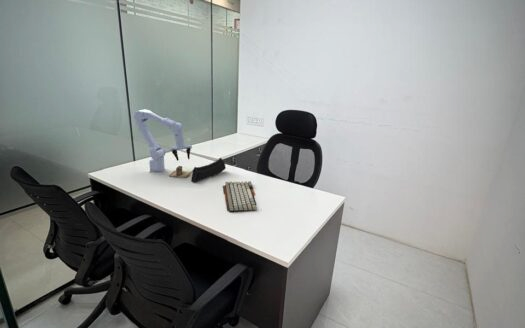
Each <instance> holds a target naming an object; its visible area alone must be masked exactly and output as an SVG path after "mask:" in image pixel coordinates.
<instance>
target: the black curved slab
mask: <svg viewBox="0 0 525 328" xmlns="http://www.w3.org/2000/svg"><path fill="white" fill-rule="evenodd" d="M193 168H194V170H193V172H192V173H191V174H192V175H191V179H190V182H192V183H197V182H200V181H203V180H206V179H209V178H210V177H211V178H213V177H215V176H217V175H218V174H220V173H221V172H223V171H224V170H226V169H227V168H226V163H225V162H224V160H223V158H221V157H219V159H217V160H215V161H213V162H211V163H209V164H206V165H202V166H198V167H196V166H194V167H193Z"/></svg>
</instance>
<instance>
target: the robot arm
mask: <svg viewBox="0 0 525 328" xmlns="http://www.w3.org/2000/svg"><path fill="white" fill-rule="evenodd" d="M133 118H134V121H135V125H136V127H137V128H138V131H140V133H141V136H142V137H143V138H144V140H145V142H146V145H148V147H149V154H150V159H149V163H148V164H149V172H150V173H153V172H163V171H165V170H166V168H165V155H166V151H165V149H164V148H163V147H162V146H161V145H159V144H158V143H157V141H156V140H155V138H154V136H153V135H152V132H151V131H150V129H149V127H148V126H147V121H148V120H149V119H151V120H153V121H156V122H159V123H161V125H162V126H163V127H165V128H167V129H169V130H171V132H172V133H173V137H174V141H175V146H173V147H169V150H170V152H171V153H172V155H173V156H174V157H175V159H176V161H179V160H180V159H179V156H178V155H179V154H178V151H182V150H185V151H186V156H187V159H188V160H190V158H191V157H190V155H191V151H192V149H193V147H192V145H191V144H190V145H185V144H186V143H185V138H184V134H183V129H184V127H183V124H182V123H181V122H179V121H178V122H176V120H172V119H170V117H165V118H164V117H163V116H160V115H158V114H156V113H154V112H153V111H151V110H149V109H147V108H144V109H139V110H136V111H134V115H133Z"/></svg>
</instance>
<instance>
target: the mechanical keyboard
mask: <svg viewBox="0 0 525 328" xmlns="http://www.w3.org/2000/svg"><path fill="white" fill-rule="evenodd" d="M222 189H223V190H222V191H223V193H222V194H223V195H224V200H225V206H226V211H227V212H228V213H246V212H254V211H257V202H256V198H255V196H256V193H255V189H254V187H253V184H252V181H251V180H249V181H225V183H224V185H222ZM260 210H261V211H262V209H260Z"/></svg>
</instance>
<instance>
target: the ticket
mask: <svg viewBox="0 0 525 328" xmlns="http://www.w3.org/2000/svg"><path fill="white" fill-rule="evenodd" d="M193 170H194V167H189V166H187V167H185V166H182V172H191V174H192V173H193ZM173 171H176V169H174V170H173Z"/></svg>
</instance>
